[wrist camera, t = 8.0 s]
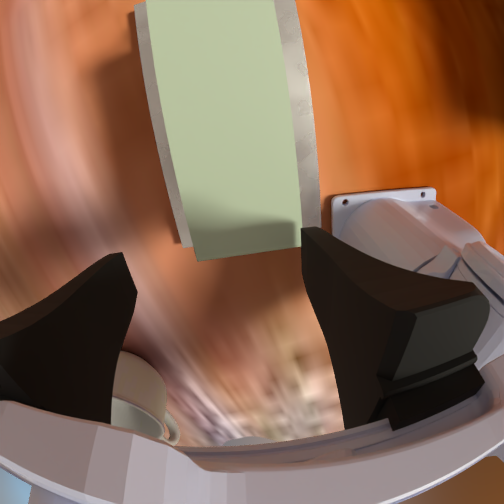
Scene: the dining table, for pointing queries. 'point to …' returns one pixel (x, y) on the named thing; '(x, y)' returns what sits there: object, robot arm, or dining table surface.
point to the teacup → (141, 399)
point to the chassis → (299, 110)
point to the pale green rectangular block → (228, 123)
